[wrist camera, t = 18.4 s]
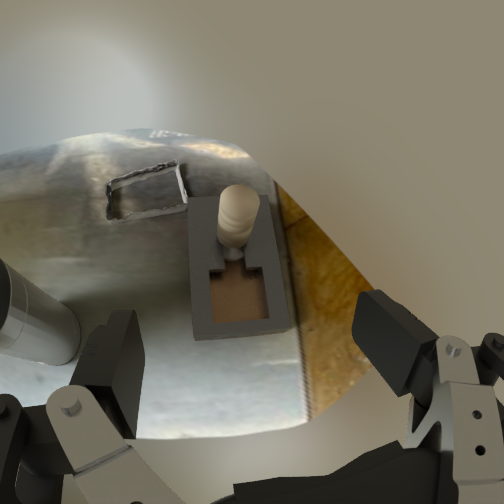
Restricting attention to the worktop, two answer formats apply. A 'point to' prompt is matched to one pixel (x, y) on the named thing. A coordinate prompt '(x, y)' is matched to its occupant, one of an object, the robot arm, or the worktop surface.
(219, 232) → the keyhole peg
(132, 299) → the worktop surface
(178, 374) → the worktop surface
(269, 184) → the worktop surface
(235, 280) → the keyhole board
